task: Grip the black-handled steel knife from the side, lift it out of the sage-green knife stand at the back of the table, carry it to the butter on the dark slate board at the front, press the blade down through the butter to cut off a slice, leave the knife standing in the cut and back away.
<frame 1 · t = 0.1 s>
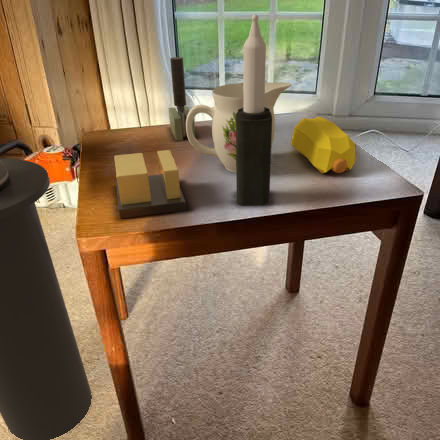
candle: (252, 199, 72), on the table
knife stand: (182, 133, 100), on the table
knife: (182, 133, 100), resting in knife stand
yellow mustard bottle: (320, 161, 84), on the table
pitcher: (237, 167, 83), on the table
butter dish: (149, 198, 73), on the table
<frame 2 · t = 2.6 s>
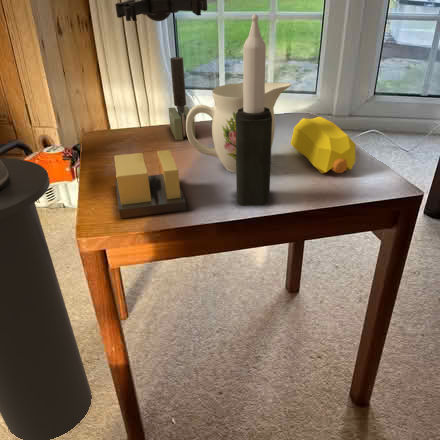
hand: (166, 10, 94), 23 cm above the table, tool horizontal, fingers open, 13 cm apart
nothing on the table moved.
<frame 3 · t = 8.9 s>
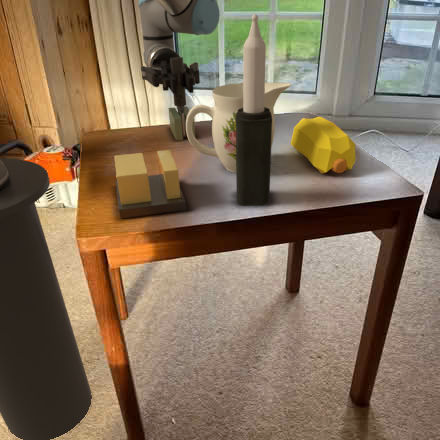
hand: (183, 86, 89), 11 cm above the table, tool horizontal, fingers closed on knife, 3 cm apart
knife: (182, 133, 100), resting in knife stand, touching gripper
everything else where it was.
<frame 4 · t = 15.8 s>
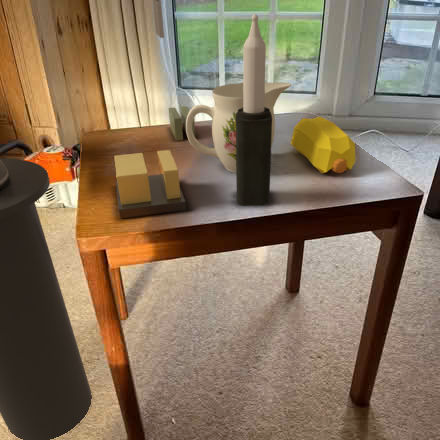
knife: (159, 35, 74), point 21 cm above the table, touching gripper
everything else where it was.
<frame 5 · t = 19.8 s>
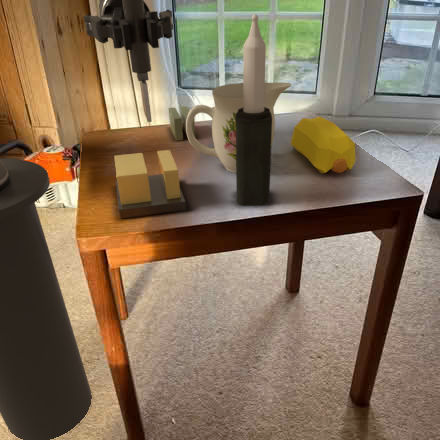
hand: (141, 36, 55), 23 cm above the table, tool horizontal, fingers closed on knife, 3 cm apart
knife: (147, 116, 66), point 13 cm above the table, touching gripper
everything else where it was.
when the fingers open (12 cm above the table, at t = 22.9 s): knife stays where it is, resting on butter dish.
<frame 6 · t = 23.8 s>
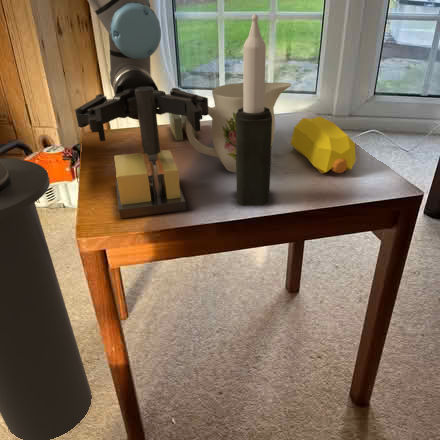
hand: (150, 126, 63), 12 cm above the table, tool horizontal, fingers open, 13 cm apart
knife: (156, 188, 72), point 1 cm above the table, touching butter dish
everything else where it was.
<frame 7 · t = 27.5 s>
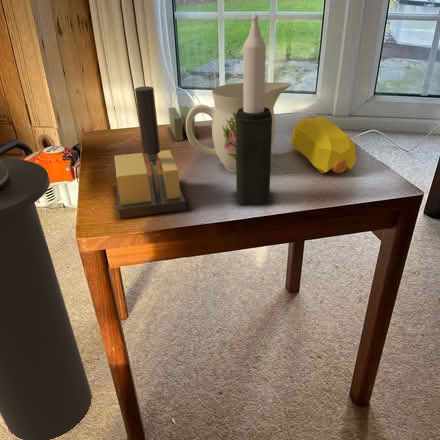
nothing on the table moved.
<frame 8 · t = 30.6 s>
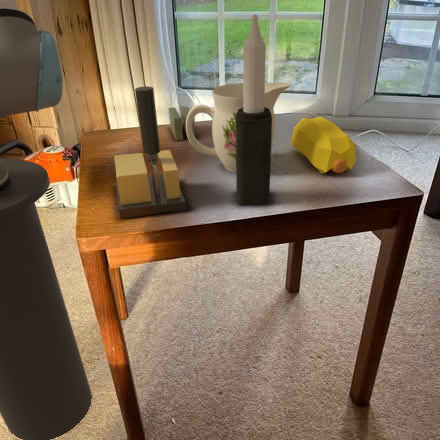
nothing on the table moved.
at the end: knife 0.2 cm from the target spot on the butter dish, point 1.5 cm above the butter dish's base; knife tilted 0°; the gripper is holding nothing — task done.
